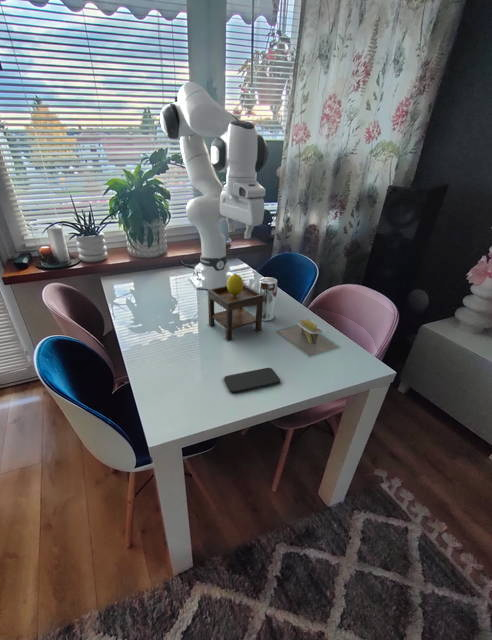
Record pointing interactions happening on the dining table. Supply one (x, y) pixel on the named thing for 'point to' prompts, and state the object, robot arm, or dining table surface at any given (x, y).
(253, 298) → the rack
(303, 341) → the platform
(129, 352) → the dining table surface
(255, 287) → the shaker set
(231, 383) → the phone
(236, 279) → the lemon
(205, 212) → the robot arm
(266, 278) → the beer glass
